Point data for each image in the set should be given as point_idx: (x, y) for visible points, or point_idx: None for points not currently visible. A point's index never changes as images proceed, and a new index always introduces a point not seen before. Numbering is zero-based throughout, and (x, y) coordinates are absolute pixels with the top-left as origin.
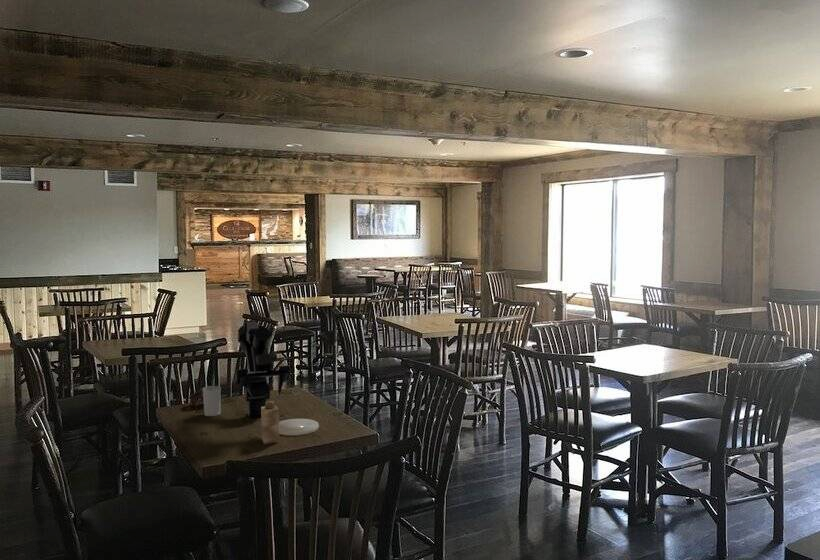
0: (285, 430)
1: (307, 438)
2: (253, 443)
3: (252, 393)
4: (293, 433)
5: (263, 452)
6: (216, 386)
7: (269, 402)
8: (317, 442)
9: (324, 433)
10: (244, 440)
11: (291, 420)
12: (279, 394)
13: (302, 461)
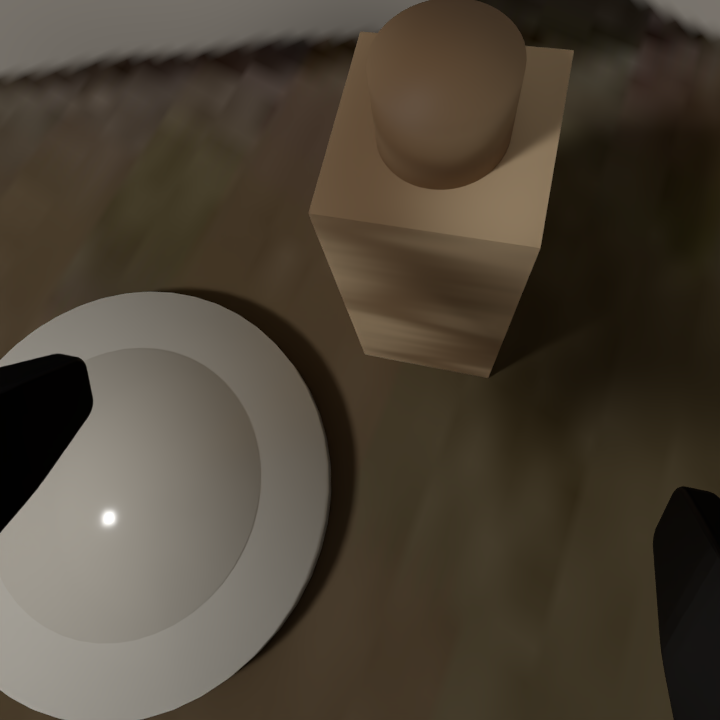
0: (259, 398)
1: (191, 217)
2: (581, 313)
3: (715, 522)
4: (235, 315)
5: (568, 103)
6: None
7: (456, 41)
8: (181, 117)
9: (43, 255)
10: (633, 427)
11: (70, 664)
12: (90, 388)
13: None
